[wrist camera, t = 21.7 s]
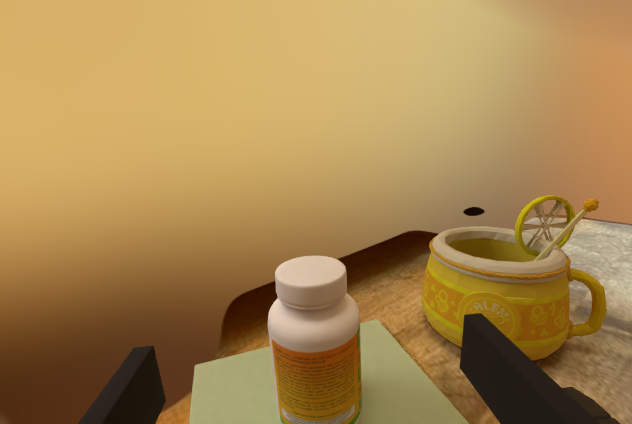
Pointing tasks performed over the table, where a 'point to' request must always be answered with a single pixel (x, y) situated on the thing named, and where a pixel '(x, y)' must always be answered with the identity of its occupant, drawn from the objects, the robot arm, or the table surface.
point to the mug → (510, 281)
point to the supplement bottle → (315, 344)
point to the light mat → (376, 379)
